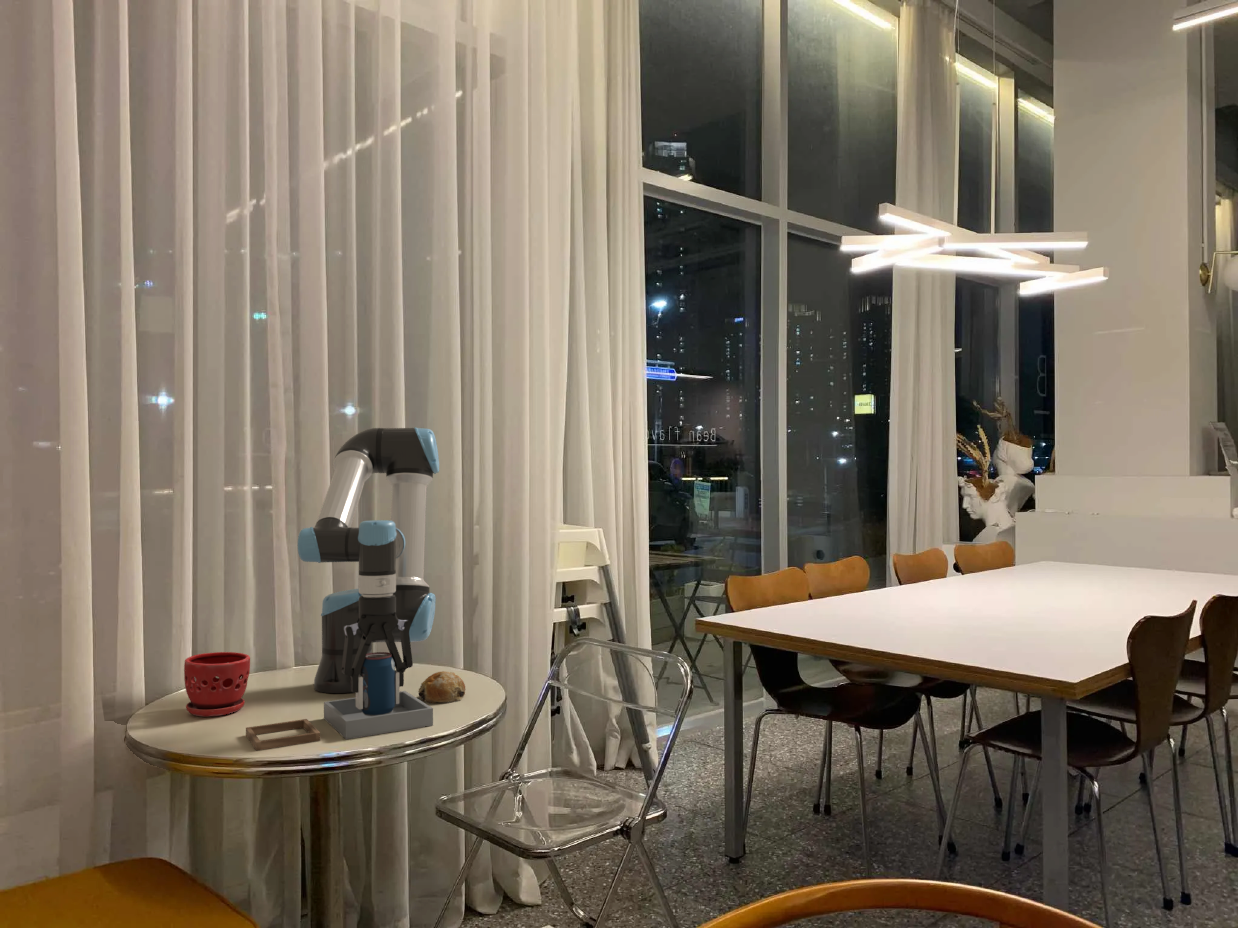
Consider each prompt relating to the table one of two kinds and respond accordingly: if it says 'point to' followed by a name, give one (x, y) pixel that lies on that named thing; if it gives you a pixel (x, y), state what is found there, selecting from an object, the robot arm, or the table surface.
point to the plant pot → (216, 682)
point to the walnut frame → (284, 741)
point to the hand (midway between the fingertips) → (377, 704)
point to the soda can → (378, 684)
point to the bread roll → (442, 688)
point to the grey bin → (377, 717)
